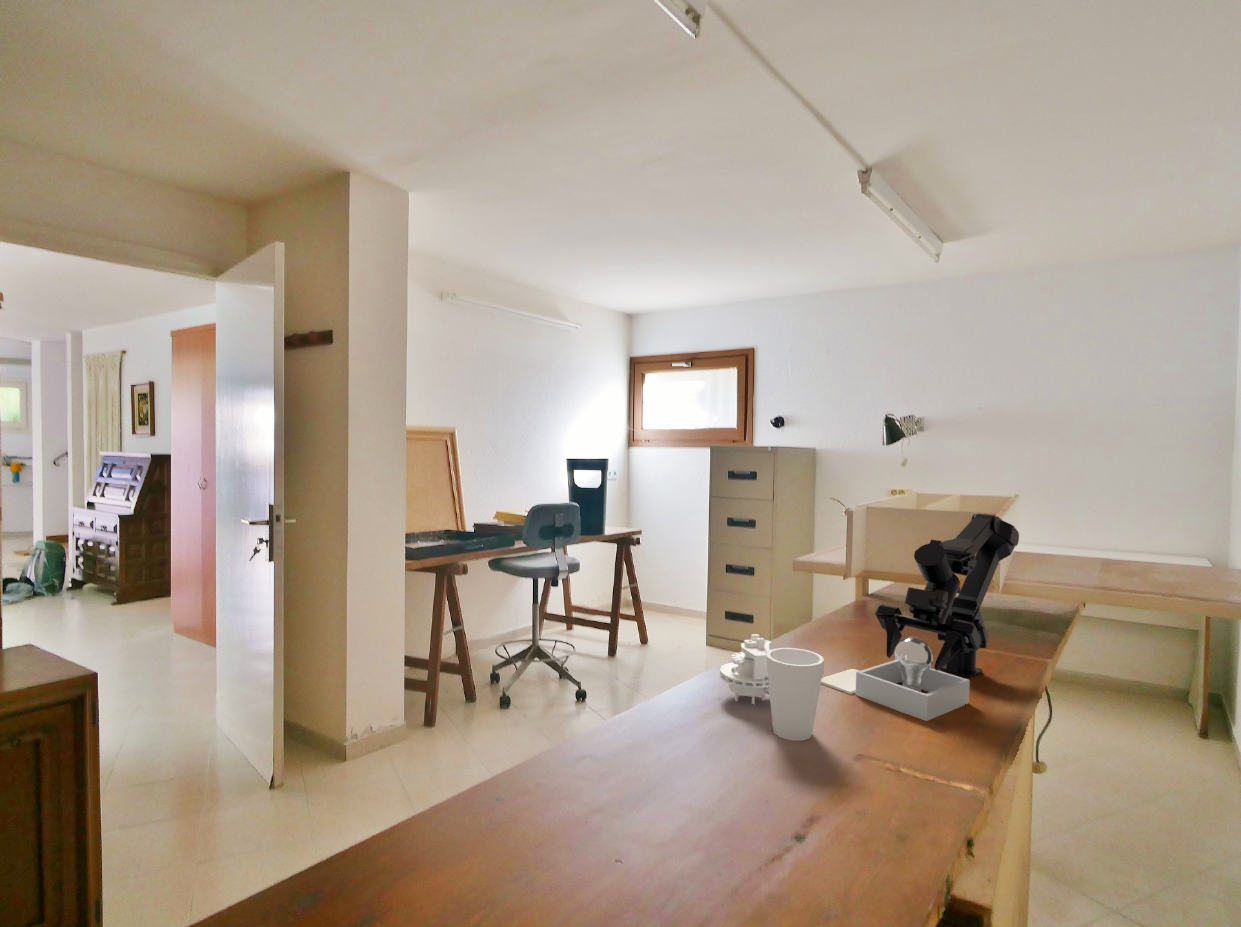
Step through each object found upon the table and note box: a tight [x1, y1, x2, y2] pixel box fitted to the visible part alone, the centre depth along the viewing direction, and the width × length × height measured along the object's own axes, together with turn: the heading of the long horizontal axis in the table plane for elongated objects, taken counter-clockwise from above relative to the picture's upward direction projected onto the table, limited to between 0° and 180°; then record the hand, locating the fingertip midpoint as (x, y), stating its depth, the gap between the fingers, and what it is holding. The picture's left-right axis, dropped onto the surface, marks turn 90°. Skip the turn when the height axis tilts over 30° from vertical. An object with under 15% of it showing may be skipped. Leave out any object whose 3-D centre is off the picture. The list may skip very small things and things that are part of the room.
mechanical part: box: [719, 633, 772, 706], centre depth 132 cm, size 11×12×12 cm
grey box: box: [854, 659, 971, 722], centre depth 133 cm, size 15×15×4 cm
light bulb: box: [893, 636, 934, 692], centre depth 133 cm, size 7×7×12 cm
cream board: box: [821, 668, 860, 695], centre depth 142 cm, size 12×8×1 cm, turn 126°
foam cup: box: [766, 647, 825, 742], centre depth 117 cm, size 10×9×13 cm
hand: (911, 662), depth 133 cm, fingers open, 9 cm apart
